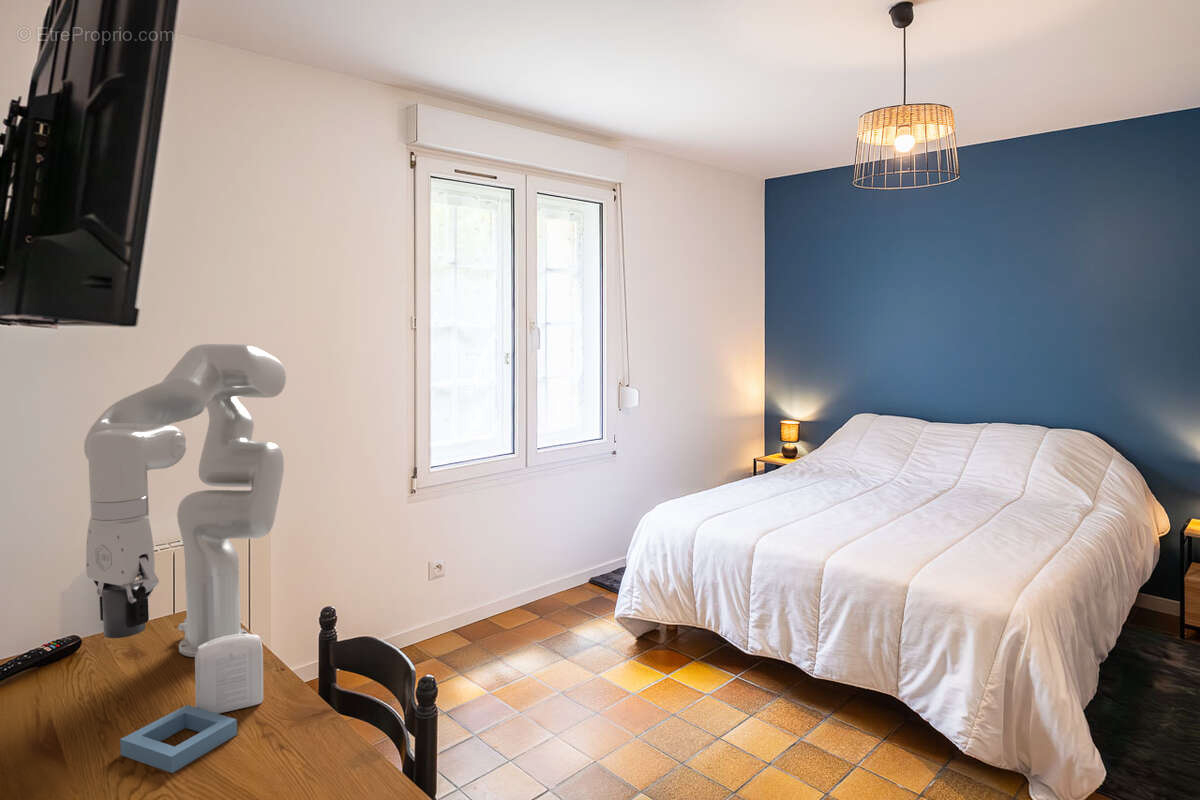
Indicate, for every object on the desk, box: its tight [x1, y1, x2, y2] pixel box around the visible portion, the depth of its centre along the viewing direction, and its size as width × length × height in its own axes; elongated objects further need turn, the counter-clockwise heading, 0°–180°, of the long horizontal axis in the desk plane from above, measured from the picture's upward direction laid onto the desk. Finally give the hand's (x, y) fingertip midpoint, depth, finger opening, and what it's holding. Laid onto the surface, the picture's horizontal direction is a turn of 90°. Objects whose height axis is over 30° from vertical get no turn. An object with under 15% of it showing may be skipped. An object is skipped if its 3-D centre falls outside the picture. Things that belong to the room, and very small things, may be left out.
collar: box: [119, 704, 238, 774], centre depth 110 cm, size 11×11×2 cm
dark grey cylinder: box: [101, 584, 146, 639], centre depth 114 cm, size 6×6×7 cm
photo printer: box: [194, 633, 264, 714], centre depth 121 cm, size 10×4×12 cm, turn 123°
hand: (124, 620), depth 114 cm, fingers closed on dark grey cylinder, 5 cm apart
